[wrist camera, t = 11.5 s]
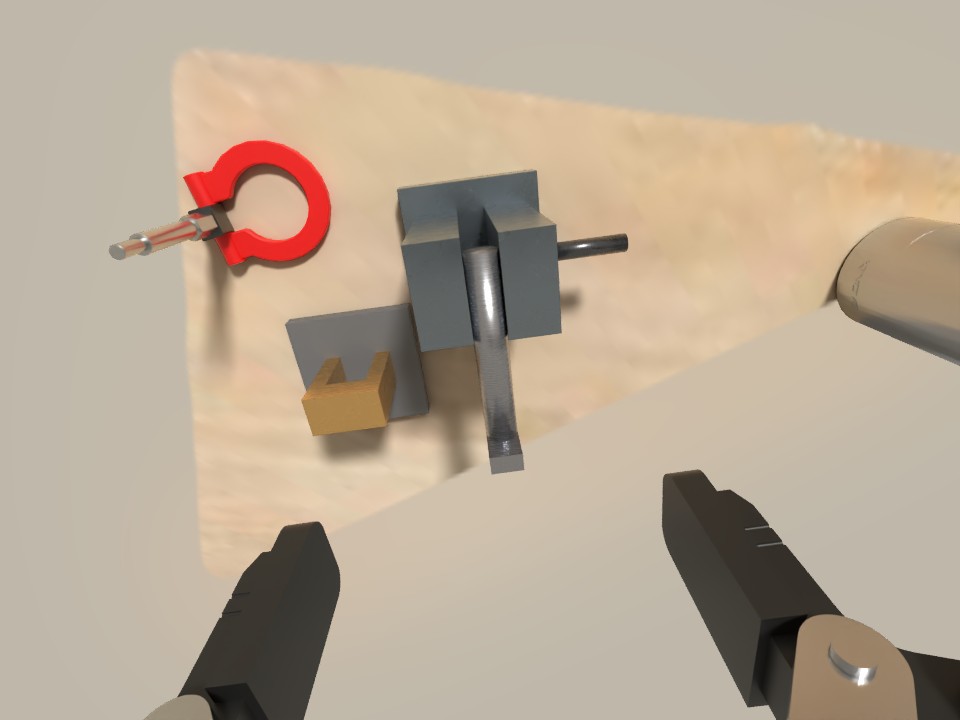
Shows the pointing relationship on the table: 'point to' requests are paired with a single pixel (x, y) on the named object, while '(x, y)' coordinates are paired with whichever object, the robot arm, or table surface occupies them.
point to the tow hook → (214, 219)
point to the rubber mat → (364, 350)
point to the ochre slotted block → (350, 397)
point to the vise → (487, 281)
